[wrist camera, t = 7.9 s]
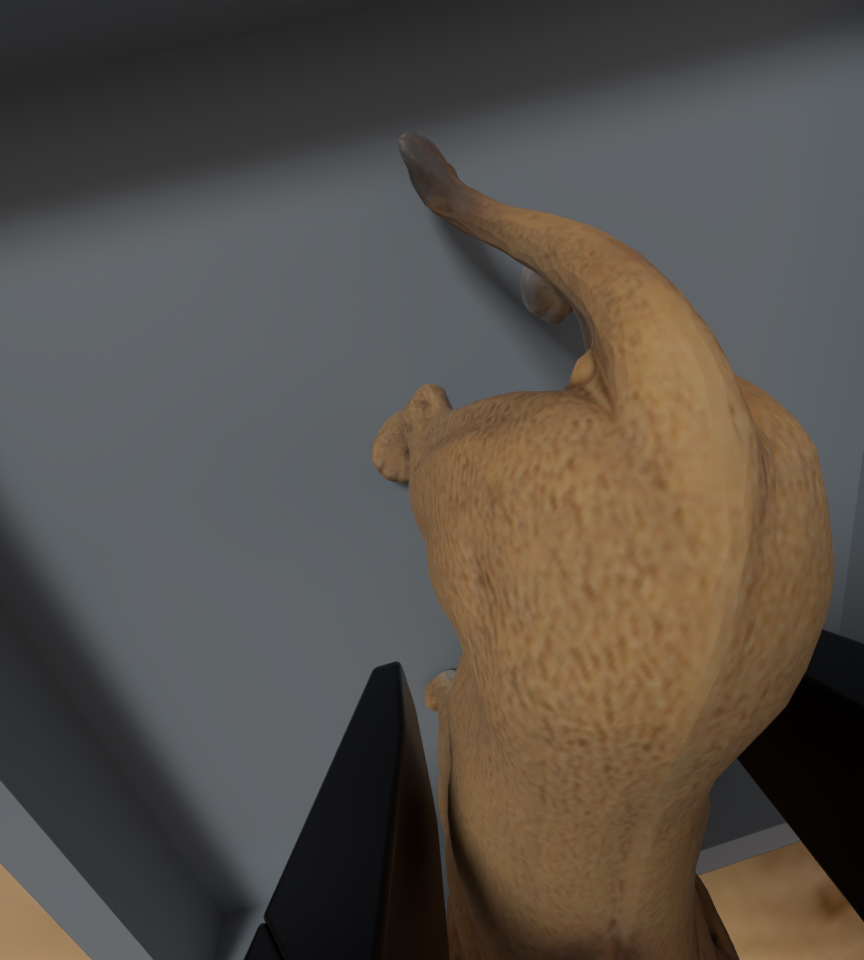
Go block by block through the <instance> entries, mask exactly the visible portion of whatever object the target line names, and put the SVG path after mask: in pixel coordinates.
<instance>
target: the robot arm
mask: <svg viewBox="0 0 864 960" xmlns="http://www.w3.org/2000/svg"><path fill="white" fill-rule="evenodd" d="M737 759H738V761H739V762H740V763H741V765H742V766H743V767H744V768H745V770H746V771H747V772H748V774H749V775H750V776H751V777H752V779H753V780H754V781H755V783H756V784H757V785H758V786H759V788H760V789H761V790H762V792H763V793H764V794H765V795H766V797H767V798H768V799H769V801H770V802H771V803H772V804H773V806H774V807H775V808H776V810H777V811H778V812H779V813H780V815H781V816H782V817H783V819H784V820H785V821H786V822H787V824H788V825H789V826H790V828H791V829H792V830H793V831H794V833H795V834H796V835H797V837H798V838H799V839H800V840H801V842H802V843H803V844H804V846H805V847H806V848H807V849H808V851H809V852H810V853H811V855H812V856H813V857H814V859H815V860H816V861H817V862H818V864H819V865H820V866H821V868H822V869H823V870H824V871H825V873H826V874H827V875H828V877H829V878H830V879H831V880H832V882H833V883H834V884H835V886H836V887H837V888H838V889H839V891H840V892H841V893H842V895H843V896H844V897H845V898H846V900H847V901H848V902H849V904H850V905H851V906H852V907H853V909H854V910H855V911H856V913H857V914H858V915H859V916H860V918H861V919H862V920H863V922H864V643H861V642H858V641H855V640H853V639H850V638H847V637H844V636H841V635H838V634H836V633H833V632H830V631H827V630H824V629H822V631H821V634H820V636H819V639H818V642H817V644H816V647H815V649H814V652H813V655H812V657H811V660H810V662H809V665H808V668H807V670H806V672H805V674H804V675H803V677H802V679H801V681H800V683H799V684H798V686H797V688H796V690H795V691H794V693H793V695H792V697H791V699H790V700H789V702H788V704H787V706H786V707H785V708H784V709H783V710H782V711H781V712H780V714H779V715H778V716H777V717H776V718H775V719H774V720H773V721H772V722H771V723H770V724H769V725H768V726H767V727H766V728H765V729H764V730H763V732H762V733H761V734H760V735H759V736H758V737H757V738H756V739H755V740H754V741H753V742H752V743H751V744H750V745H749V746H748V747H747V748H746V749H745V750H744V751H743V752H742V753H741V754H740V755H739V756H738V757H737ZM263 919H264V921H265V923H261V924H260V925H259V926H258V928H257V930H256V933H255V935H254V937H253V939H252V942H251V944H250V946H249V948H248V951H247V953H246V955H245V957H244V960H450V957H449V946H448V934H447V923H446V911H445V900H444V889H443V877H442V866H441V854H440V843H439V833H438V824H437V816H436V810H435V804H434V798H433V793H432V788H431V783H430V778H429V773H428V768H427V763H426V758H425V753H424V748H423V743H422V738H421V733H420V728H419V723H418V718H417V713H416V709H415V705H414V701H413V698H412V695H411V692H410V688H409V685H408V682H407V679H406V676H405V673H404V670H403V667H402V665H401V663H400V662H398V661H394V662H391V663H388V664H384V665H381V666H377V667H375V668H374V669H373V670H372V672H371V675H370V677H369V679H368V681H367V684H366V686H365V688H364V690H363V693H362V695H361V697H360V699H359V702H358V704H357V706H356V708H355V711H354V713H353V715H352V717H351V720H350V722H349V724H348V726H347V729H346V731H345V733H344V735H343V738H342V740H341V742H340V744H339V747H338V749H337V751H336V753H335V756H334V758H333V760H332V762H331V765H330V767H329V769H328V771H327V774H326V776H325V778H324V780H323V783H322V785H321V787H320V789H319V792H318V794H317V796H316V798H315V801H314V803H313V805H312V807H311V810H310V812H309V814H308V816H307V819H306V821H305V823H304V825H303V828H302V830H301V832H300V834H299V837H298V839H297V841H296V843H295V846H294V848H293V850H292V852H291V855H290V857H289V859H288V861H287V864H286V866H285V868H284V870H283V873H282V875H281V877H280V879H279V882H278V884H277V886H276V888H275V891H274V893H273V895H272V897H271V900H270V902H269V904H268V906H267V909H266V911H265V913H264V916H263Z"/></svg>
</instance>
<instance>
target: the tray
mask: <svg viewBox="0 0 864 960" xmlns="http://www.w3.org/2000/svg"><path fill="white" fill-rule="evenodd" d="M412 131H416V132H419V133H421V134H423V135H425V136H426V137H427V138H428V139H429V140H431V141H432V142H433V143H434V144H435V145H436V146H437V148H438V149H439V151H440V152H441V154H442V155H443V157H444V158H445V159H446V161H447V162H448V163H449V164H451V165H452V166H453V167H454V168H455V170H456V173H457V176H458V178H459V179H460V180H461V181H462V182H463V183H464V184H465V185H467V186H469V187H471V188H473V189H475V190H477V191H479V192H481V193H483V194H484V195H486V196H488V197H490V198H492V199H494V200H496V201H497V202H499V203H503V204H506V205H509V206H513V207H516V208H523V209H531V210H536V211H541V212H545V213H550V214H554V215H557V216H560V217H564V218H568V219H572V220H575V221H578V222H581V223H585V224H588V225H590V226H592V227H595V228H597V229H599V230H602V231H604V232H606V233H608V234H610V235H611V236H613V237H614V238H616V239H618V240H619V241H621V242H623V243H624V244H626V245H627V246H629V247H631V248H632V249H634V250H636V251H637V252H639V253H640V254H642V255H643V256H644V257H645V258H646V259H647V260H648V261H649V262H651V263H652V264H653V265H654V266H655V267H656V268H657V269H658V270H659V271H660V272H662V273H663V274H664V275H665V276H666V277H667V278H668V279H669V280H670V281H671V282H672V283H673V284H674V285H675V286H676V287H677V288H678V289H679V290H680V291H681V292H682V293H683V294H684V296H685V297H686V298H687V300H688V301H689V302H690V303H691V305H692V306H693V307H694V308H695V310H696V311H697V312H698V314H699V315H700V316H701V317H702V319H703V320H704V321H705V323H706V324H707V325H708V326H709V328H710V329H711V330H712V331H713V333H714V335H715V337H716V339H717V340H718V342H719V344H720V346H721V348H722V350H723V352H724V353H725V355H726V357H727V359H728V362H729V364H730V366H731V368H732V370H733V373H735V374H736V375H738V376H740V377H742V378H743V379H745V380H747V381H749V382H750V383H752V384H754V385H756V386H757V387H759V388H761V389H763V390H764V391H765V392H767V393H768V394H769V395H770V396H772V397H773V398H774V399H775V400H777V401H778V402H779V403H780V404H781V405H782V406H783V407H784V408H785V409H786V410H787V411H788V412H789V413H790V414H792V415H793V416H794V417H795V418H796V420H797V421H798V422H799V424H800V425H801V426H802V428H803V429H804V430H805V432H806V433H807V434H808V436H809V437H810V439H811V440H812V441H813V443H814V445H815V446H816V448H817V452H818V457H819V461H820V466H821V470H822V475H823V480H824V484H825V489H826V493H827V498H828V506H829V515H830V524H831V533H832V542H833V551H834V560H835V570H834V580H833V589H832V594H831V599H830V604H829V609H828V614H827V618H826V621H825V623H824V626H823V629H824V630H827V631H830V632H833V633H836V634H838V635H841V636H844V637H847V638H850V639H853V640H855V641H858V642H861V643H864V0H0V863H1V864H2V865H3V866H4V867H5V869H6V870H7V871H8V872H9V873H10V874H11V875H12V876H13V877H14V878H15V879H16V880H17V881H18V882H19V883H20V884H21V885H22V886H23V888H24V889H25V890H26V891H27V892H28V893H29V894H30V895H31V896H32V897H33V898H34V899H35V900H36V901H37V902H38V903H39V904H40V905H41V907H42V908H43V909H44V910H45V911H46V912H47V913H48V914H49V915H50V916H51V917H52V918H53V919H54V920H55V921H56V922H57V923H58V924H59V926H60V927H61V928H62V929H63V930H64V931H65V932H66V933H67V934H68V935H69V936H70V937H71V938H72V939H73V940H74V941H75V942H76V943H77V944H78V946H79V947H80V948H81V949H82V950H83V951H84V952H85V953H86V954H87V955H88V956H89V957H90V958H91V959H92V960H244V957H245V955H246V953H247V951H248V948H249V946H250V944H251V942H252V939H253V937H254V935H255V933H256V930H257V928H258V926H259V925H260V924H261V923H265V921H264V919H263V916H264V913H265V911H266V909H267V906H268V904H269V902H270V900H271V897H272V895H273V893H274V891H275V888H276V886H277V884H278V882H279V879H280V877H281V875H282V873H283V870H284V868H285V866H286V864H287V861H288V859H289V857H290V855H291V852H292V850H293V848H294V846H295V843H296V841H297V839H298V837H299V834H300V832H301V830H302V828H303V825H304V823H305V821H306V819H307V816H308V814H309V812H310V810H311V807H312V805H313V803H314V801H315V798H316V796H317V794H318V792H319V789H320V787H321V785H322V783H323V780H324V778H325V776H326V774H327V771H328V769H329V767H330V765H331V762H332V760H333V758H334V756H335V753H336V751H337V749H338V747H339V744H340V742H341V740H342V738H343V735H344V733H345V731H346V729H347V726H348V724H349V722H350V720H351V717H352V715H353V713H354V711H355V708H356V706H357V704H358V702H359V699H360V697H361V695H362V693H363V690H364V688H365V686H366V684H367V681H368V679H369V677H370V675H371V672H372V670H373V669H374V668H375V667H377V666H381V665H384V664H388V663H391V662H394V661H398V662H400V663H401V665H402V667H403V670H404V673H405V676H406V679H407V682H408V685H409V688H410V692H411V695H412V698H413V701H414V705H415V709H416V713H417V718H418V723H419V728H420V733H421V738H422V743H423V748H424V753H425V758H426V763H427V768H428V773H429V778H430V783H431V788H432V793H433V798H434V804H435V810H436V816H437V824H438V833H439V843H440V854H441V866H442V877H443V889H444V900H445V911H446V923H447V900H448V896H449V894H450V893H449V887H448V881H447V874H446V864H445V832H444V829H443V825H442V822H441V818H440V812H439V807H438V779H439V766H438V752H437V748H438V730H439V719H438V714H437V713H436V712H435V711H432V710H430V709H429V708H428V707H426V704H425V699H424V691H425V688H426V686H427V684H428V683H429V682H430V681H431V680H432V679H433V678H435V677H436V676H437V675H438V674H440V673H441V672H444V671H447V670H455V671H456V670H457V667H458V664H459V661H460V657H461V654H462V651H463V650H462V647H461V644H460V641H459V637H458V635H457V633H456V631H455V629H454V627H453V625H452V624H451V622H450V621H449V619H448V617H447V616H446V614H445V612H444V611H443V609H442V607H441V606H440V604H439V602H438V599H437V597H436V594H435V592H434V589H433V586H432V583H431V581H430V577H429V572H428V561H427V553H426V544H425V540H424V538H423V536H422V534H421V532H420V530H419V528H418V526H417V523H416V520H415V517H414V514H413V510H412V506H411V502H410V497H409V482H408V483H400V482H394V481H388V480H386V479H385V478H384V477H383V476H382V475H381V473H380V472H379V471H378V470H377V469H376V467H375V466H374V464H373V462H372V454H371V452H372V447H373V442H374V440H375V438H376V436H377V434H378V432H379V429H380V428H381V427H382V425H383V424H384V422H385V421H386V420H387V419H388V418H390V417H391V416H392V415H393V414H395V413H396V412H398V411H400V410H402V409H403V408H404V407H405V406H406V404H407V403H408V402H409V401H410V399H411V398H412V396H413V395H414V393H415V392H416V391H417V390H418V389H419V388H420V387H422V386H423V385H425V384H437V385H439V386H440V387H442V388H443V389H445V392H446V394H447V396H448V399H449V401H450V403H451V405H452V408H453V410H455V409H458V408H460V407H463V406H465V405H468V404H471V403H473V402H475V401H478V400H482V399H486V398H489V397H493V396H496V395H500V394H506V393H512V392H518V391H557V390H563V389H564V388H565V387H566V386H567V385H568V383H569V380H570V377H571V374H572V372H573V369H574V367H575V364H576V362H577V360H578V359H579V358H581V357H582V356H583V355H584V354H585V353H586V352H585V347H584V342H583V337H582V332H581V327H580V324H579V321H578V319H577V317H576V315H575V313H574V311H573V312H571V313H570V314H569V315H568V316H567V317H566V318H565V319H564V320H563V321H562V322H561V323H559V324H550V323H547V322H546V321H544V320H543V319H541V318H540V317H538V316H536V315H534V314H532V313H530V312H529V311H528V310H527V309H526V307H525V305H524V303H523V298H522V291H521V285H520V283H521V275H522V269H523V265H522V264H520V263H518V262H517V261H516V260H514V259H513V258H511V257H510V256H509V255H507V254H505V253H504V252H502V251H500V250H498V249H496V248H494V247H492V246H490V245H488V244H486V243H484V242H483V241H481V240H479V239H477V238H474V237H472V236H470V235H467V234H465V233H463V232H460V231H458V230H457V229H456V228H455V227H454V226H452V225H451V224H450V223H449V222H447V221H446V220H444V219H443V218H441V217H439V216H438V215H436V214H435V213H433V212H432V211H431V210H430V209H429V208H428V207H427V206H426V205H425V204H424V203H423V201H422V200H421V198H420V197H419V195H418V194H417V192H416V191H415V189H414V187H413V186H412V184H411V181H410V177H409V174H408V169H407V167H406V165H405V163H404V161H403V159H402V156H401V154H400V151H399V147H398V141H399V139H400V137H401V135H403V134H406V133H409V132H412ZM710 805H711V809H710V815H709V819H708V823H707V828H706V832H705V835H704V838H703V842H702V847H701V851H700V855H699V858H698V862H697V865H696V874H697V875H701V874H704V873H707V872H710V871H713V870H716V869H719V868H722V867H725V866H728V865H731V864H734V863H737V862H740V861H742V860H745V859H748V858H751V857H754V856H757V855H760V854H763V853H766V852H769V851H772V850H775V849H778V848H781V847H784V846H787V845H790V844H793V843H796V842H799V841H801V840H800V839H799V838H798V837H797V835H796V834H795V833H794V831H793V830H792V829H791V828H790V826H789V825H788V824H787V822H786V821H785V820H784V819H783V817H782V816H781V815H780V813H779V812H778V811H777V810H776V808H775V807H774V806H773V804H772V803H771V802H770V801H769V799H768V798H767V797H766V795H765V794H764V793H763V792H762V790H761V789H760V788H759V786H758V785H757V784H756V783H755V781H754V780H753V779H752V777H751V776H750V775H749V774H748V772H747V771H746V770H745V768H744V767H743V766H742V765H741V763H740V762H739V761H738V759H737V758H736V759H735V760H734V761H733V762H732V763H731V764H730V765H729V766H728V768H727V769H726V770H725V771H724V772H723V773H722V774H721V775H720V776H719V777H718V778H717V779H716V780H715V782H714V784H713V786H712V788H711V790H710Z"/></svg>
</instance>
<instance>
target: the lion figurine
mask: <svg viewBox="0 0 864 960" xmlns="http://www.w3.org/2000/svg"><path fill="white" fill-rule="evenodd" d="M398 147H399V151H400V154H401V156H402V159H403V161H404V163H405V165H406V167H407V169H408V174H409V177H410V181H411V184H412V186H413V187H414V189H415V191H416V192H417V194H418V195H419V197H420V198H421V200H422V201H423V203H424V204H425V205H426V206H427V207H428V208H429V209H430V210H431V211H432V212H433V213H435V214H436V215H438V216H439V217H441V218H443V219H444V220H446V221H447V222H449V223H450V224H451V225H452V226H454V227H455V228H456V229H457V230H458V231H460V232H463V233H465V234H467V235H470V236H472V237H474V238H477V239H479V240H481V241H483V242H484V243H486V244H488V245H490V246H492V247H494V248H496V249H498V250H500V251H502V252H504V253H505V254H507V255H509V256H510V257H511V258H513V259H514V260H516V261H517V262H518V263H520V264H522V265H523V269H522V275H521V283H520V285H521V291H522V298H523V303H524V305H525V307H526V309H527V310H528V311H529V312H530V313H532V314H534V315H536V316H538V317H540V318H541V319H543V320H544V321H546V322H547V323H550V324H559V323H561V322H562V321H563V320H564V319H565V318H566V317H567V316H568V315H569V314H570V313H571V312H573V311H574V313H575V315H576V317H577V319H578V321H579V324H580V327H581V332H582V337H583V342H584V347H585V352H586V353H585V354H584V355H583V356H582V357H581V358H579V359H578V360H577V362H576V364H575V367H574V369H573V372H572V374H571V377H570V380H569V383H568V385H567V386H566V387H565V388H564V389H563V390H557V391H518V392H512V393H506V394H500V395H496V396H493V397H489V398H486V399H482V400H478V401H475V402H473V403H471V404H468V405H465V406H463V407H460V408H458V409H455V410H453V408H452V405H451V403H450V401H449V399H448V396H447V394H446V392H445V389H443V388H442V387H440V386H439V385H437V384H425V385H423V386H422V387H420V388H419V389H418V390H417V391H416V392H415V393H414V395H413V396H412V398H411V399H410V401H409V402H408V403H407V404H406V406H405V407H404V408H403V409H402V410H400V411H398V412H396V413H395V414H393V415H392V416H391V417H390V418H388V419H387V420H386V421H385V422H384V424H383V425H382V427H381V428H380V429H379V432H378V434H377V436H376V438H375V440H374V442H373V447H372V452H371V454H372V462H373V464H374V466H375V467H376V469H377V470H378V471H379V472H380V473H381V475H382V476H383V477H384V478H385V479H386V480H388V481H394V482H400V483H408V482H409V497H410V502H411V506H412V510H413V514H414V517H415V520H416V523H417V526H418V528H419V530H420V532H421V534H422V536H423V538H424V540H425V544H426V553H427V561H428V572H429V577H430V581H431V583H432V586H433V589H434V592H435V594H436V597H437V599H438V602H439V604H440V606H441V607H442V609H443V611H444V612H445V614H446V616H447V617H448V619H449V621H450V622H451V624H452V625H453V627H454V629H455V631H456V633H457V635H458V637H459V641H460V644H461V647H462V650H463V651H462V654H461V657H460V661H459V664H458V667H457V670H456V671H455V670H447V671H444V672H441V673H440V674H438V675H437V676H436V677H435V678H433V679H432V680H431V681H430V682H429V683H428V684H427V686H426V688H425V691H424V699H425V704H426V707H428V708H429V709H430V710H432V711H435V712H436V713H437V714H438V719H439V730H438V748H437V752H438V766H439V779H438V807H439V812H440V818H441V822H442V825H443V829H444V832H445V864H446V874H447V881H448V887H449V893H450V894H449V896H448V900H447V934H448V946H449V957H450V960H739V957H738V955H737V952H736V950H735V948H734V945H733V943H732V941H731V939H730V937H729V935H728V932H727V930H726V928H725V926H724V924H723V922H722V920H721V918H720V916H719V914H718V913H717V910H716V908H715V906H714V904H713V901H712V899H711V897H710V895H709V893H708V890H707V889H706V887H705V885H704V884H703V882H702V881H701V879H700V878H699V877H698V875H697V874H696V865H697V862H698V858H699V855H700V851H701V847H702V842H703V838H704V835H705V832H706V828H707V823H708V819H709V815H710V809H711V805H710V790H711V788H712V786H713V784H714V782H715V780H716V779H717V778H718V777H719V776H720V775H721V774H722V773H723V772H724V771H725V770H726V769H727V768H728V766H729V765H730V764H731V763H732V762H733V761H734V760H735V759H736V758H737V757H738V756H739V755H740V754H741V753H742V752H743V751H744V750H745V749H746V748H747V747H748V746H749V745H750V744H751V743H752V742H753V741H754V740H755V739H756V738H757V737H758V736H759V735H760V734H761V733H762V732H763V730H764V729H765V728H766V727H767V726H768V725H769V724H770V723H771V722H772V721H773V720H774V719H775V718H776V717H777V716H778V715H779V714H780V712H781V711H782V710H783V709H784V708H785V707H786V706H787V704H788V702H789V700H790V699H791V697H792V695H793V693H794V691H795V690H796V688H797V686H798V684H799V683H800V681H801V679H802V677H803V675H804V674H805V672H806V670H807V668H808V665H809V662H810V660H811V657H812V655H813V652H814V649H815V647H816V644H817V642H818V639H819V636H820V634H821V631H822V629H823V626H824V623H825V621H826V618H827V614H828V609H829V604H830V599H831V594H832V589H833V580H834V570H835V560H834V551H833V542H832V533H831V524H830V515H829V506H828V498H827V493H826V489H825V484H824V480H823V475H822V470H821V466H820V461H819V457H818V452H817V448H816V446H815V445H814V443H813V441H812V440H811V439H810V437H809V436H808V434H807V433H806V432H805V430H804V429H803V428H802V426H801V425H800V424H799V422H798V421H797V420H796V418H795V417H794V416H793V415H792V414H790V413H789V412H788V411H787V410H786V409H785V408H784V407H783V406H782V405H781V404H780V403H779V402H778V401H777V400H775V399H774V398H773V397H772V396H770V395H769V394H768V393H767V392H765V391H764V390H763V389H761V388H759V387H757V386H756V385H754V384H752V383H750V382H749V381H747V380H745V379H743V378H742V377H740V376H738V375H736V374H735V373H733V370H732V368H731V366H730V364H729V362H728V359H727V357H726V355H725V353H724V352H723V350H722V348H721V346H720V344H719V342H718V340H717V339H716V337H715V335H714V333H713V331H712V330H711V329H710V328H709V326H708V325H707V324H706V323H705V321H704V320H703V319H702V317H701V316H700V315H699V314H698V312H697V311H696V310H695V308H694V307H693V306H692V305H691V303H690V302H689V301H688V300H687V298H686V297H685V296H684V294H683V293H682V292H681V291H680V290H679V289H678V288H677V287H676V286H675V285H674V284H673V283H672V282H671V281H670V280H669V279H668V278H667V277H666V276H665V275H664V274H663V273H662V272H660V271H659V270H658V269H657V268H656V267H655V266H654V265H653V264H652V263H651V262H649V261H648V260H647V259H646V258H645V257H644V256H643V255H642V254H640V253H639V252H637V251H636V250H634V249H632V248H631V247H629V246H627V245H626V244H624V243H623V242H621V241H619V240H618V239H616V238H614V237H613V236H611V235H610V234H608V233H606V232H604V231H602V230H599V229H597V228H595V227H592V226H590V225H588V224H585V223H581V222H578V221H575V220H572V219H568V218H564V217H560V216H557V215H554V214H550V213H545V212H541V211H536V210H531V209H523V208H516V207H513V206H509V205H506V204H503V203H499V202H497V201H496V200H494V199H492V198H490V197H488V196H486V195H484V194H483V193H481V192H479V191H477V190H475V189H473V188H471V187H469V186H467V185H465V184H464V183H463V182H462V181H461V180H460V179H459V178H458V176H457V173H456V170H455V168H454V167H453V166H452V165H451V164H449V163H448V162H447V161H446V159H445V158H444V157H443V155H442V154H441V152H440V151H439V149H438V148H437V146H436V145H435V144H434V143H433V142H432V141H431V140H429V139H428V138H427V137H426V136H425V135H423V134H421V133H419V132H416V131H412V132H409V133H406V134H403V135H401V137H400V139H399V141H398Z"/></svg>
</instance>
